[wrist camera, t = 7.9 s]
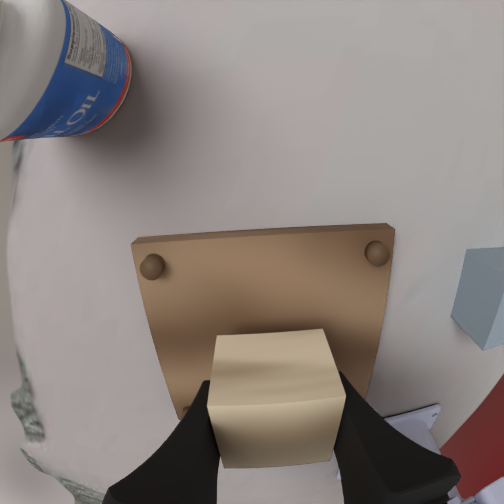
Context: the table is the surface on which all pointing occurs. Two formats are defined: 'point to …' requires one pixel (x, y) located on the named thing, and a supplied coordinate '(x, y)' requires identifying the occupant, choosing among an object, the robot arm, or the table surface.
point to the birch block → (275, 399)
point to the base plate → (264, 294)
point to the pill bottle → (57, 71)
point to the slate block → (482, 297)
